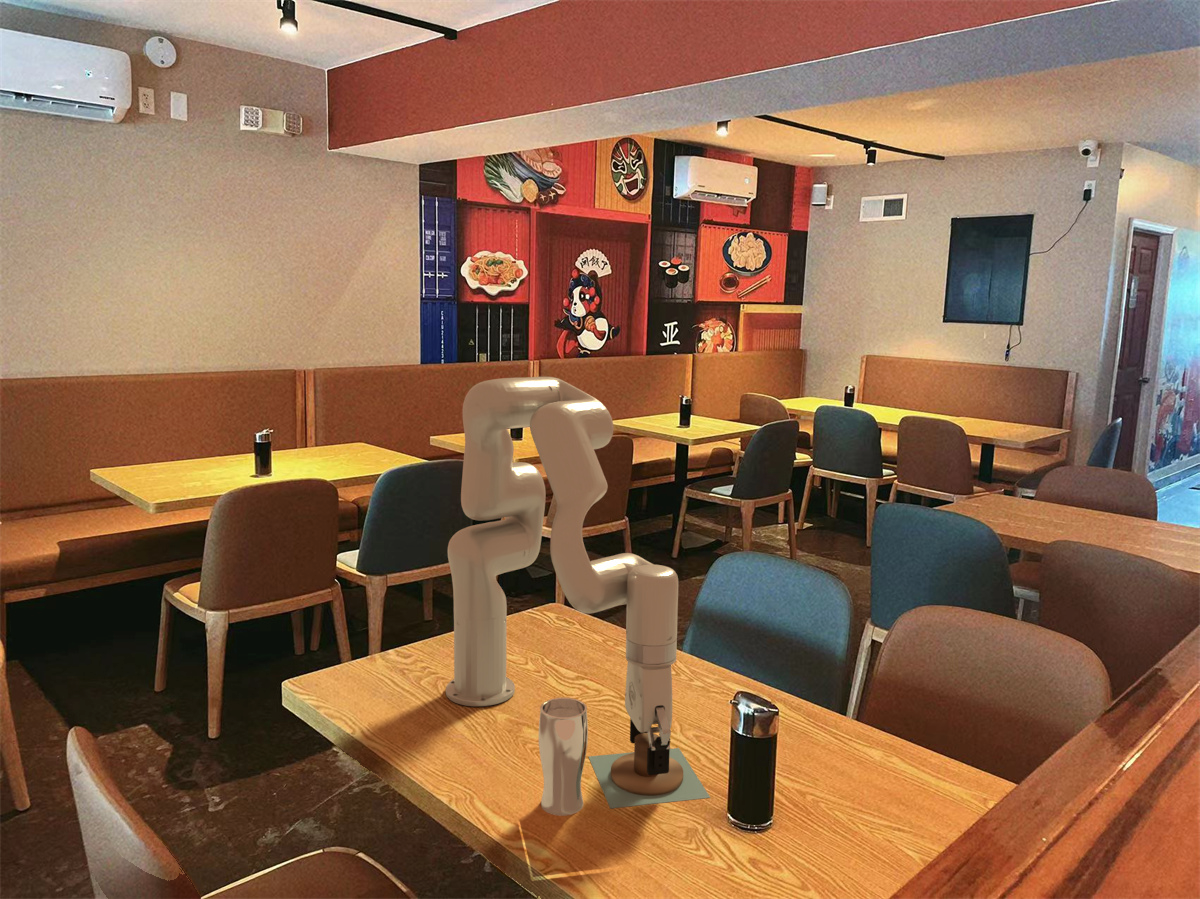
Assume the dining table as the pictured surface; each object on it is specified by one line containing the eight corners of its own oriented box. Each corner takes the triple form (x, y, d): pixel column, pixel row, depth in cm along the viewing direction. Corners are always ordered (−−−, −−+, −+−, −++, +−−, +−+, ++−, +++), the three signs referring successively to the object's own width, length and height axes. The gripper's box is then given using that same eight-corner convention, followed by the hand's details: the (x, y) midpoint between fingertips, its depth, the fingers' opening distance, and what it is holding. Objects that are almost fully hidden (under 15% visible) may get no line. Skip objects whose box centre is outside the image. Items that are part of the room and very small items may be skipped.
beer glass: (580, 822, 123) (582, 721, 121) (532, 816, 125) (532, 715, 122) (591, 796, 130) (593, 699, 128) (544, 790, 131) (546, 694, 129)
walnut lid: (603, 761, 139) (603, 725, 138) (670, 754, 142) (671, 719, 141) (620, 799, 129) (621, 760, 128) (693, 791, 131) (694, 753, 130)
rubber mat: (588, 758, 141) (588, 756, 141) (678, 750, 144) (678, 747, 144) (610, 810, 126) (610, 808, 126) (710, 800, 130) (710, 797, 130)
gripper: (612, 630, 139) (611, 733, 142) (642, 673, 123) (639, 789, 125) (658, 627, 141) (656, 729, 144) (694, 669, 124) (690, 783, 127)
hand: (648, 757), depth 134 cm, fingers open, 9 cm apart
